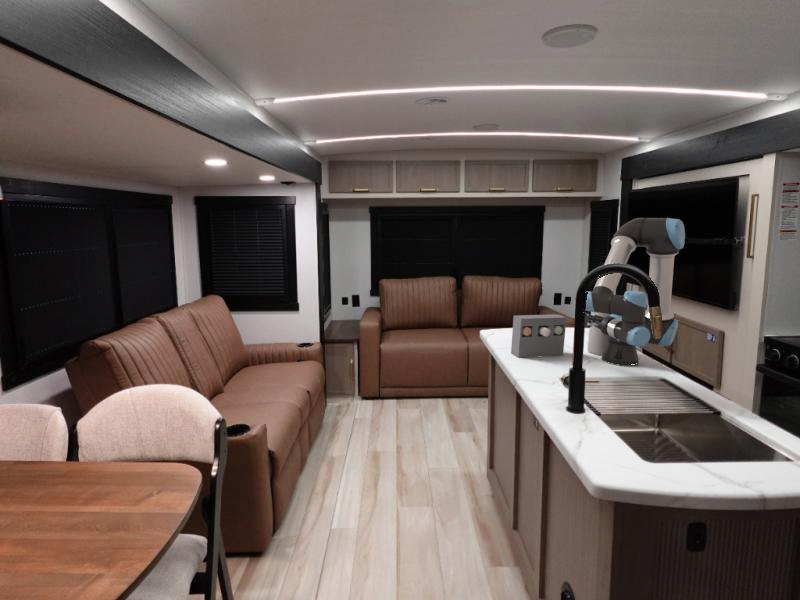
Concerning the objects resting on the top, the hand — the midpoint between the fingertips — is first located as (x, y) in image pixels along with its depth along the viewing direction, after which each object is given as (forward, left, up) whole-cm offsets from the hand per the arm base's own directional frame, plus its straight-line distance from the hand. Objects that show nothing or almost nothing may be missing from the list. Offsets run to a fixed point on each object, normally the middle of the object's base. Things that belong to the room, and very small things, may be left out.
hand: (577, 314), depth 213 cm
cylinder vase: (-24, -13, -22) cm, 35 cm away
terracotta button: (+17, -14, -12) cm, 25 cm away
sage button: (+1, -14, -12) cm, 18 cm away
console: (+9, -16, -22) cm, 28 cm away
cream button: (+9, -11, -12) cm, 18 cm away
